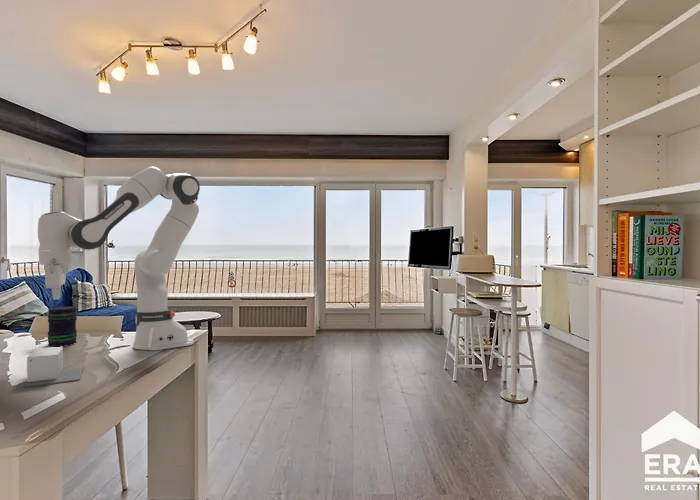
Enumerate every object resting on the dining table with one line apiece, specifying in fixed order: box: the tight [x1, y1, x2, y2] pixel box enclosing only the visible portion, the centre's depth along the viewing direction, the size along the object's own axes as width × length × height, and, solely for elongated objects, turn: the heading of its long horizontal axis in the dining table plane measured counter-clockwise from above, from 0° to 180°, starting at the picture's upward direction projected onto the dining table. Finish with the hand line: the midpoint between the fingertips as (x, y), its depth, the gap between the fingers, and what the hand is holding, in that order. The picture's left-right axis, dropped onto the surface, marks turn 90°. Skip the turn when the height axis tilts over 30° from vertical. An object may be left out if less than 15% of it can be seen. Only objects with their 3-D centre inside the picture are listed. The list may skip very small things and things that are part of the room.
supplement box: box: [26, 346, 64, 383], centre depth 125 cm, size 7×7×13 cm
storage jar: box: [47, 305, 78, 347], centre depth 169 cm, size 10×10×15 cm
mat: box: [23, 367, 84, 388], centre depth 124 cm, size 13×14×1 cm
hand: (56, 299), depth 141 cm, fingers closed
